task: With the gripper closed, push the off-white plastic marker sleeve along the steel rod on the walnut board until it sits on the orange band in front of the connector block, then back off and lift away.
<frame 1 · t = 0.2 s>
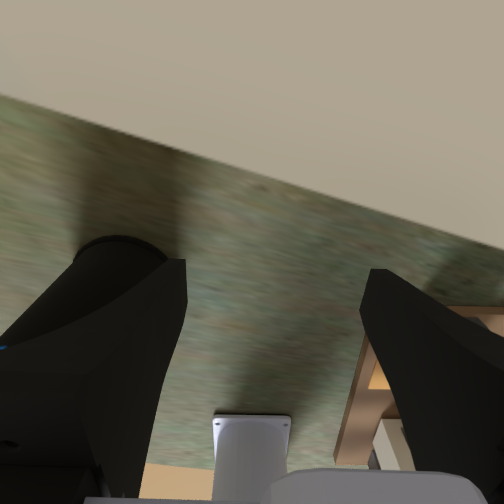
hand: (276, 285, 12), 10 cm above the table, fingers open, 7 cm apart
marker sleeve: (415, 464, 29), point 4 cm above the table, slide at 0.0 cm
aerosol can: (128, 280, 24), on the table
rail board: (405, 393, 31), on the table
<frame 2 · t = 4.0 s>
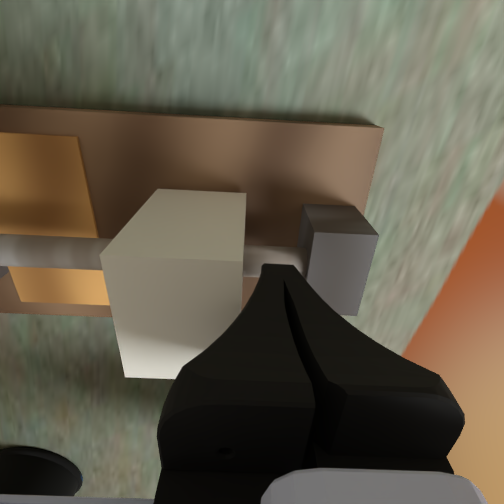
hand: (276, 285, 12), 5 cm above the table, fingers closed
marker sleeve: (193, 274, 13), point 4 cm above the table, slide at 0.7 cm, touching gripper
aerosol can: (38, 469, 28), on the table
rail board: (146, 225, 16), on the table
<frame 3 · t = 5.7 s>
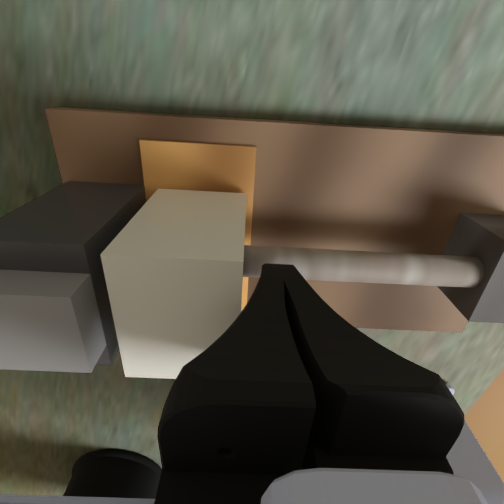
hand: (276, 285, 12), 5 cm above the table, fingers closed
marker sleeve: (193, 274, 13), point 4 cm above the table, slide at 8.3 cm, touching gripper
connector: (122, 224, 16), resting on rail board
aerosol can: (121, 472, 29), on the table
rail board: (290, 232, 17), on the table
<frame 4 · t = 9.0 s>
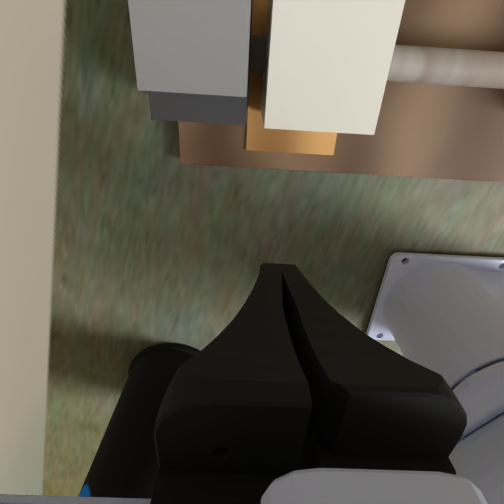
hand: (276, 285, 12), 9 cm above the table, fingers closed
marker sleeve: (315, 56, 13), point 4 cm above the table, slide at 8.3 cm
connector: (217, 56, 17), resting on rail board
aerosol can: (175, 374, 29), on the table
rail board: (382, 67, 17), on the table
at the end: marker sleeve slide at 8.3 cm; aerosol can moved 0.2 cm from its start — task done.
